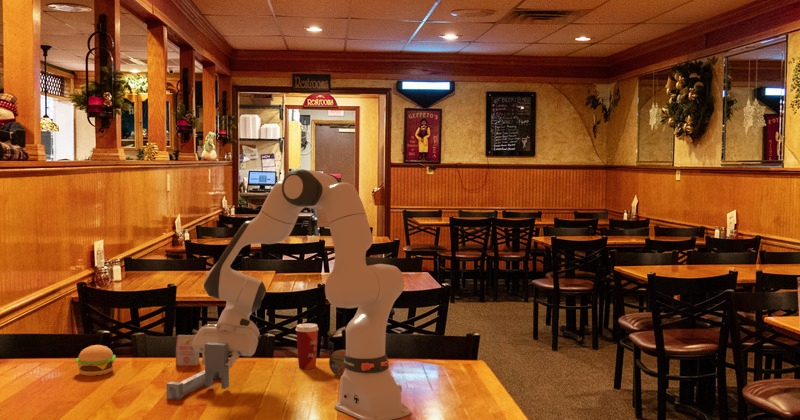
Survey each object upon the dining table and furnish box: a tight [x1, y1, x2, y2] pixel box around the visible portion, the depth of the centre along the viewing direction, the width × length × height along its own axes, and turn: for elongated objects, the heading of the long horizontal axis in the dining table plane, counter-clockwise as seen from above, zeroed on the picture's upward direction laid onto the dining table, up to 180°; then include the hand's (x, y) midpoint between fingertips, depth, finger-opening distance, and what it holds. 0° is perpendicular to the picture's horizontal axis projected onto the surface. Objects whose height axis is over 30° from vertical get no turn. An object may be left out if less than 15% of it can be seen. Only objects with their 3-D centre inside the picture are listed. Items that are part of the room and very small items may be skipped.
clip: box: [204, 342, 230, 390], centre depth 221 cm, size 6×3×13 cm, turn 73°
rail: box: [166, 369, 221, 401], centre depth 223 cm, size 24×4×4 cm, turn 163°
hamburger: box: [75, 344, 117, 377], centre depth 239 cm, size 12×12×9 cm
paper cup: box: [295, 322, 320, 370], centre depth 246 cm, size 8×8×14 cm
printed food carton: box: [175, 334, 200, 367], centre depth 249 cm, size 4×7×10 cm, turn 88°
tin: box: [328, 349, 346, 378], centre depth 235 cm, size 15×3×8 cm, turn 62°
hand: (215, 365), depth 220 cm, fingers closed on clip, 6 cm apart
